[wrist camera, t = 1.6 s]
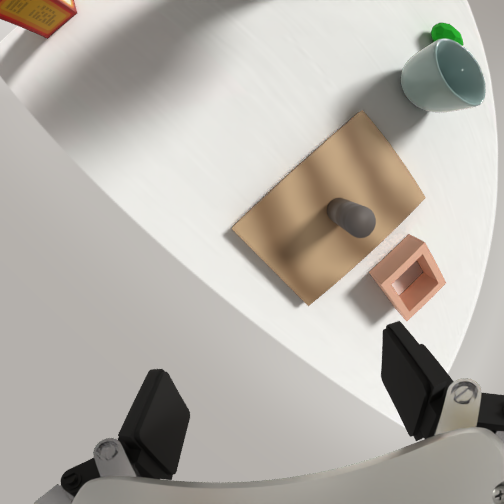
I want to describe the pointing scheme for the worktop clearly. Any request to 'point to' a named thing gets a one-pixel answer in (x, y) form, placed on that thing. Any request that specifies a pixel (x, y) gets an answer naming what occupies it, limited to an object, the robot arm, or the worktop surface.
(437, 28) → the polyhedron
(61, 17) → the baking soda box
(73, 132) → the worktop surface
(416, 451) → the robot arm
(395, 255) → the collar
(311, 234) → the post board
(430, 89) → the cup
